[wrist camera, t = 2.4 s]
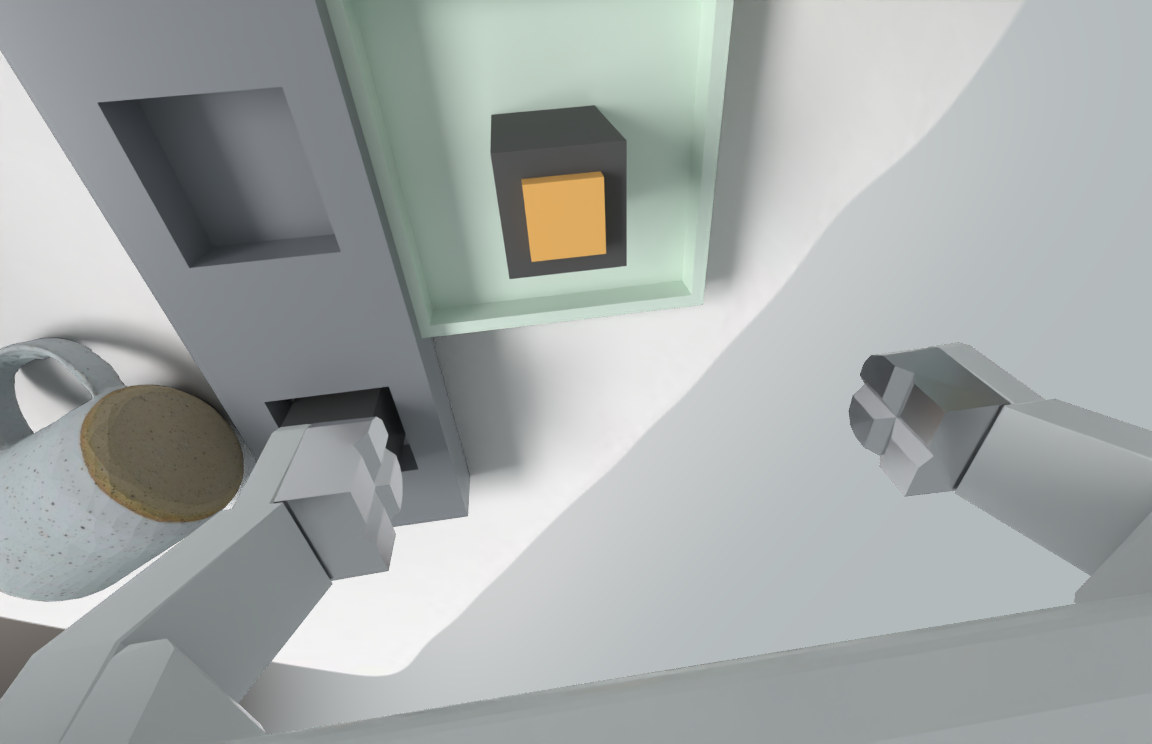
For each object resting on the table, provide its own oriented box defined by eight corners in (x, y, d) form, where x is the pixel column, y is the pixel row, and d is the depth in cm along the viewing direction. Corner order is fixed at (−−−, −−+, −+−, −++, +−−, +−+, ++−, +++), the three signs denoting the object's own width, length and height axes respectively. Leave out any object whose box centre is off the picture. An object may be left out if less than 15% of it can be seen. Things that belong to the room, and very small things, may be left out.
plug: (491, 114, 20) (490, 158, 14) (594, 105, 20) (631, 145, 15) (505, 217, 22) (510, 287, 17) (598, 207, 22) (630, 273, 17)
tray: (328, -30, 17) (312, -31, 15) (718, -57, 18) (740, -62, 16) (424, 317, 25) (419, 338, 23) (690, 286, 26) (702, 304, 24)
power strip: (-205, -455, 11) (-1000, -968, 5) (214, -462, 12) (-71, -927, 6) (320, 497, 31) (278, 619, 25) (469, 476, 32) (464, 591, 25)
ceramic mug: (277, 438, 28) (213, 561, 22) (174, 501, 30) (87, 631, 23) (75, 291, 22) (-92, 402, 16) (-39, 380, 24) (-230, 512, 18)
